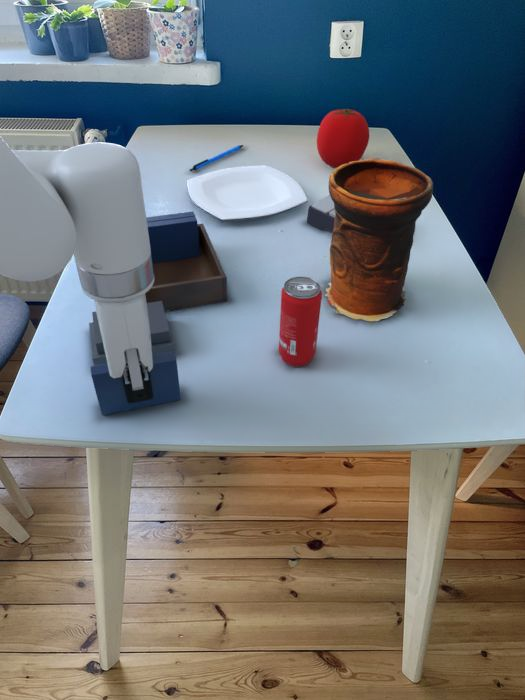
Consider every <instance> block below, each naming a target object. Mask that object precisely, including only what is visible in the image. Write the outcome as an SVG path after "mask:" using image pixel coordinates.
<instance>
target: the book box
mask: <svg viewBox="0 0 525 700" xmlns="http://www.w3.org/2000/svg"><path fill="white" fill-rule="evenodd" d="M197 224H198V237H199V251H200V257H194V258H187V259H180V260H173V261H166V262H159V263H152V264H153V271H154V283H153V286H152V287H151V288H150V290H148V291H147V292H146V293H145V296H146V302H147V303H151V302H158V301H162V303H163V306H164V310H165V312H170V311H176V310H181V309H188V308H194V307H200V306H205V305H211V304H218V303H223V302H225V303H226V302H228V280H227V275H226V273H225V270H224V268H223V266H222V263H221V261H220V259H219V256H218V255H217V252H216V250H215V248H214V245H213V243H212V241H211V238H210V236H209V234H208V232H207V230H206V227H205V225H204V223H197Z"/></svg>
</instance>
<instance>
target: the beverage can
mask: <svg viewBox="0 0 525 700" xmlns="http://www.w3.org/2000/svg"><path fill="white" fill-rule="evenodd" d="M321 288H322V287H321V285H320V283H319V282H318V281H317V280H316V279H314V278H311V277H308V276H293V277H290V278H288V279H287V280H286V281H285V282H284V284H283V287H282V288H281V292H280V293H281V294H280V314H279V333H278V334H279V335H278V336H279V337H278V354H279V355H280V357H281V360H282V362H283V363H284V364H286V365H288V366H290V367H293V368H301V367H302V368H303V367H306V366H307V365H310V363H311V362H312V360H313V358H315V355H316V352H317V343H318V333H319V324H320V315H321V307H322V298H323V291H322V289H321Z"/></svg>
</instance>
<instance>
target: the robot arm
mask: <svg viewBox="0 0 525 700" xmlns="http://www.w3.org/2000/svg"><path fill="white" fill-rule="evenodd" d="M145 205H146V204H145V198H144V191H143V181H142V175H141V169H140V164H139V162H138V159H137V157H136V156H135V155H134V153H133V152H132V151H131V150H130V149H128V148H126V147H125V146H122V145H120V144H117V143H111V142H88V143H82V144H78V145H74V146H72V147H71V146H70V148H67V149H59V150H30V149H29V150H23V149H21V150H19V149H18V150H17V149H13V150H12V149H11V147H10V146H9V145H8V143H7V142H6V141H5V140H4V138H2V136H1V135H0V276H3V277H6V278H8V279H12V280H14V281H20V282H41V281H44V280H47V279H51V278H52V277H54V276H57V275H58V274H59V273H61V272H62V271H63V270H64V269H65V268H66V267H67V265H68V264H69V263H70V262H71V260H72V258H73V257H74V261H75V266H76V270H77V274H78V278H79V284H80V287H81V290H82V292H83V294H84V295H86V296H87V297H88V298H90V299H91V300H94V306H95V312H97V318H98V322H99V327H100V332H101V336H102V341H103V345H104V350H105V354H106V359H107V364H108V369H109V374H110V376H111V377H112V378H118V377H121V376H122V374H124V378H123V383H124V388H125V393H126V398H127V402H128V403H136V402H141V401H146V400H151V399H153V391H152V385H151V379H150V373H149V374H148V372H147V370H148V371H149V372H150V371H151V370H152V368H153V360H152V346H151V335H150V326H149V317H148V310H147V302H146V296H145V293H146V292H147V291H148V290H150V288H151V287H152V286H153V283H154V271H153V264H152V256H151V249H150V241H149V234H148V226H147V219H146V217H147V212H146V206H145ZM140 367H142V370H143V371H141V370H140ZM128 370H129V372H130V373H128Z"/></svg>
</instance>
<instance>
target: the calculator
mask: <svg viewBox="0 0 525 700" xmlns="http://www.w3.org/2000/svg"><path fill="white" fill-rule="evenodd" d="M335 215H336V213H335V209H334V202H333V201H332V199H331V196H330V194H328V195H326V196H325V197H323V198H321V199H319V200H318V201H316V202H313V203H312V204H310V205H309V206H308V208H307V215H306V216H307V217H306V224H308V225H310V226H311V227H314V228H315V229H317V230H320V231H324V230H326V231H327V232H330V233H332V232H333V229H334V220H335Z"/></svg>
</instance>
